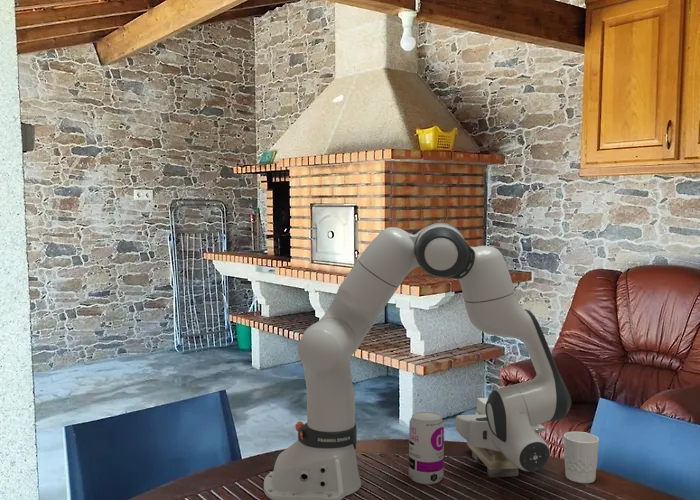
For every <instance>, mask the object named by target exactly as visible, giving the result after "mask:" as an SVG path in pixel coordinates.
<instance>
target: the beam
mask: <svg viewBox="0 0 700 500" xmlns="http://www.w3.org/2000/svg"><path fill="white" fill-rule="evenodd" d="M466 445H467V446H468V448H469V449H470V450H471V457H472V458H473V459H474V460H475V462H476V463H483V464H484V465H485V466H486V467H487V470H486V471H487V473H486V475H487V476H488V477H489V478H506V477H507V478H508V477H518V476H519V468H518V467H516V466H515V465H514V464H512V463H511V462H510V461H509V460H508V459H507V458H506V457H505V456H504V454H502V453H501V452H498V451H495V450H491V449H486V448H478V447H473V446H471V443H470V441H468V440H466Z"/></svg>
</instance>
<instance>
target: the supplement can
mask: <svg viewBox="0 0 700 500" xmlns="http://www.w3.org/2000/svg"><path fill="white" fill-rule="evenodd" d="M408 427H409V428H408V430H409V433H408V435H409V436H408V437H409V438H408V446H409V447H408V450H409V451H408V477H409V478H410V479H411V480H412V481H413V482H415V483H417V484H421V485H435V484H437V483H439V482H441V480H442V479H443V478H444V471H445V470H444V469H445V467H444V465H445V463H444V460H445V459H444V457H445V456H444V455H445V447H444V446H445V422H444V420H443V417H442V415H441V414H439V413H436V412H431V411H418V412H414V413H413V414H412V415H411V418H410V419H409V426H408Z"/></svg>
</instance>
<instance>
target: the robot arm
mask: <svg viewBox="0 0 700 500" xmlns="http://www.w3.org/2000/svg"><path fill="white" fill-rule="evenodd" d="M419 267H420V268H421V269H422V271H424V272H425V273H426V274H429V276H432V277H436V278H442V279H443V278H446V279H456V280H458V281H459V284H460V287H461V291H462V296H463V297H462V298H463V300H464V305H465V310H466V313H467V314H466V315H467V316H468V318H469V319H468V320H469V321H470V323H471V324H472V325H473V327H475V328H476V329H477V330H479V331H480V332H482V333H485V334H488V335H491V336H497V337H504V338H512V339H517V340H519V341H521V342H522V343H523V344H524V346H525V348H526V350H527V353H528V355H529V358H530V360H531V363H532V365H533V367H534V368H533V369H534V370H535V374H536V375H535V377H533V378H532V379H529V380H526V381H521V382H518V383H515V384H510V385H507V386H503V387H499V388H496V389H493V390H492V391H491V392H490V393H489V395H488V397H487V398H488V400H487V403H486V406H485V411H486V414H481V413H480V412H477V411H476V412H473V414H459V415H457V416H456V417H455V431H456V432H457V433H458V434H459V435H460V436H461V437H462V438H463V439H464V440H466V441H467V440H468V441H470V443H471V446H473V447H478V448H486V449H491V450H495V451H498V452H501V453H502V454H504V456H505V457H506V458H507V459H508V460H509V461H510V462H511V463H512V464H514V465H515V466H516V467H518V470H519V469H520V470H522V471H524V472H528V473H529V472H532V473H533V472H536V471H539V470H542V468H544V467H545V466H546V465H547V464H548V462H549V460H550V456H551V450H550V447H549V445H548V443H547V442H546V440H544V439H543V437H542V436H541V435H540V433H543V432H545V430H546V428H545V426H543V425H542V424H543V423H550V422H555V421H561V420H564V419H565V417H566V416H567V414H568V413H569V410H570V408H571V406H572V399H571V394H570V393H569V390H568V388H567V386H566V383H565V381H564V380H563V378H562V376H561V374H560V372H559V369H558V366H557V365H556V362H555V360H554V357H553V355H552V352H551V349H550V346H549V343H548V342H547V339H546V337H545V334H544V332H543V329H542V327H541V325H540V323H539V321H538V320H537V318H536V316H535V314H534V313H533V312H532V311H531V310H529V309H526V308H523V306H522V305H521V304H520V303H519V301H518V298H517V297H516V292H515V289H514V284H513V281H512V276H511V274H510V270H509V269H508V266H507V263H506V260H505V258H504V255H503V254H502V252H501V251H500V250H499V249H498V248H496V247H495V246H490V245H478V246H471V245H470V244H468V242H467V241H466V240H465V238H464V236H463V234H462V233H461V231H459V229H457V228H456V227H455V226H454V225H452V224H450V223H447V222H443V221H438V222H437V221H436V222H433V223H429V224H428V225H425V226H424V227H422V228H419V229H417V230H416V231H415V230H414V232H412V233H409V232H408V231H406V230H404V229H402V228H399V227H393V226H390V227H386V228H384V229H383V230H381V231H380V232H379V233H378V234H377V235H376V236H375V238H373V239H372V241H371V242H370V243H369V244H368V245H367V247H366V248H365V249H364V251H363V252H362V253H361V254H360V256H359V257H358V259H357V260H356V262H355V263H354V265H353V266H352V268H351V269H350V271H348V274H347V275H346V276H345V278H344V279H343V281H342V283H341V284H340V285H339V287H338V290H337V292H336V294H335V296H334V298H333V299H332V302H331V303H330V305H329V307H328V308H327V310H326V312H325V313H324V314H323V316H322V317H321V318H320V319H319V320H318V321H316V322H314V323H313V324H311V325H310V326H308V327H307V328H306V330H304V332H303V334H302V336H301V337H300V340H299V341H298V347H297V352H298V353H297V354H298V357H299V361H301V363H302V369H303V375H304V381H305V385H306V386H305V387H306V423H303V421H297V422H296V423H295V431H296V432H297V439H298V440H296V441H294V442H293V443H292V444H291V445H290V446H288V447H287V448H285V449H283V451H282V452H280V453H279V454H278V456H277V458H276V460H275V463H274V466H273V471H270V472H269V473H268V474H267V475H266V476H265V477H264V481H263V492H264V494H265V495H266V497H267V498H268V499H270V500H343V499H344V498H345V497H347V496H349V495H352V494H354V493H356V492H357V491H358V490H360V488H361V487H362V482H361V477H360V473H359V470H358V469H359V468H358V462H357V461H358V460H357V452H356V449H357V444H358V428H357V425H356V422H355V421H356V419H355V418H356V416H355V415H356V390H355V387H354V383H353V377H352V371H351V370H352V369H351V359H352V356H353V355H354V354H355V353H356V352H357V350H358V348H359V347H360V346H361V345H362V343H363V341H364V340H365V338H366V337H367V335H368V333H369V332H370V331H371V329H372V328H373V325H374V324H375V322H376V321H377V320H378V317H380V314H381V313H382V312H383V310H384V309H385V307H386V306H387V305H388V303H389V301H390V300H391V299H392V297H393V296H394V294H396V291H397V290H398V288H399V287H400V286H401V284H402V282H403V281H404V280H405V278H406V277H407V275H408V274H409V273H410V272H412V271H413V270H414V269H416V268H419Z"/></svg>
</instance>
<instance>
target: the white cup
mask: <svg viewBox="0 0 700 500" xmlns="http://www.w3.org/2000/svg"><path fill="white" fill-rule="evenodd" d="M599 443H600V439H599V437H598V436H597V435H594V434H592V433H589V432H584V431H567V432H565V433H564V434H563V445H564V446H563V452H564V466H565V467H564V470H565V472H564V474H565V477H566V479H567V480H570V481H571V482H574V483H579V484H591V483H594V482H595V480H596V478H597V467H598V457H599Z"/></svg>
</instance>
